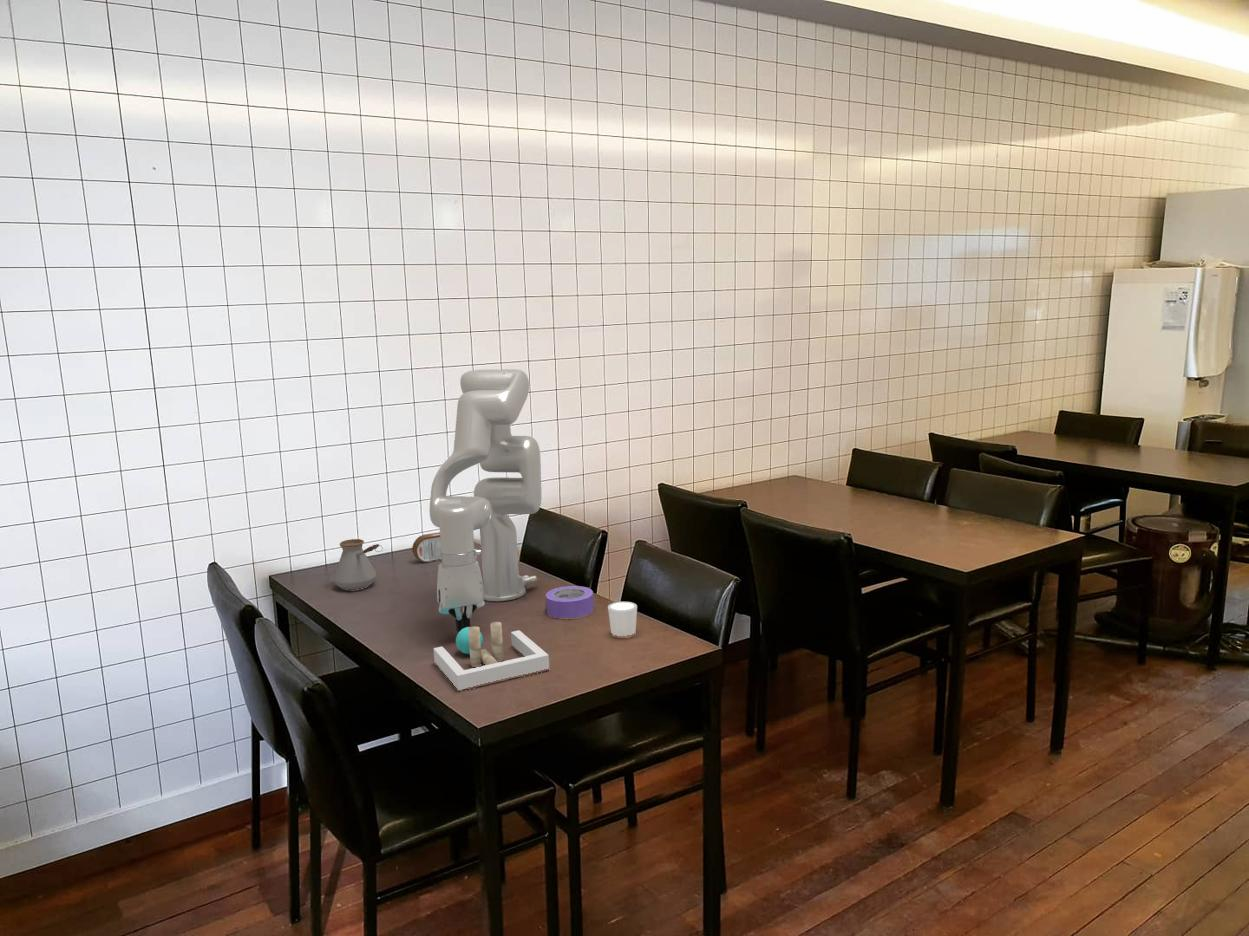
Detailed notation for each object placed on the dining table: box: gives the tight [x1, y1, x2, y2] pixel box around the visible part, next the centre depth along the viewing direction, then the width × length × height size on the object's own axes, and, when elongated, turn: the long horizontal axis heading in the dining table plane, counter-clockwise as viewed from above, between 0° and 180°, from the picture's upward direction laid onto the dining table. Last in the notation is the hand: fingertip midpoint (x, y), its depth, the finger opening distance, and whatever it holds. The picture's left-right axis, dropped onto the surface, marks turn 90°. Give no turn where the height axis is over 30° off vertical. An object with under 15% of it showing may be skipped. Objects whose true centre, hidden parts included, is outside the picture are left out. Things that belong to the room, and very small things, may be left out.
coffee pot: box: [333, 538, 384, 590], centre depth 253 cm, size 21×12×15 cm, turn 43°
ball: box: [455, 626, 484, 655], centre depth 208 cm, size 6×6×6 cm
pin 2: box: [490, 621, 504, 661], centre depth 203 cm, size 2×2×8 cm
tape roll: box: [545, 585, 595, 618], centre depth 233 cm, size 12×12×5 cm
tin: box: [412, 531, 442, 563], centre depth 281 cm, size 15×3×8 cm, turn 120°
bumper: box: [433, 629, 550, 691], centre depth 200 cm, size 20×17×4 cm
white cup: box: [607, 601, 638, 636], centre depth 216 cm, size 7×7×7 cm
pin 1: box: [468, 626, 483, 666], centre depth 201 cm, size 2×2×8 cm
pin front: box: [481, 648, 498, 666], centre depth 201 cm, size 2×2×8 cm
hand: (463, 633), depth 216 cm, fingers closed
